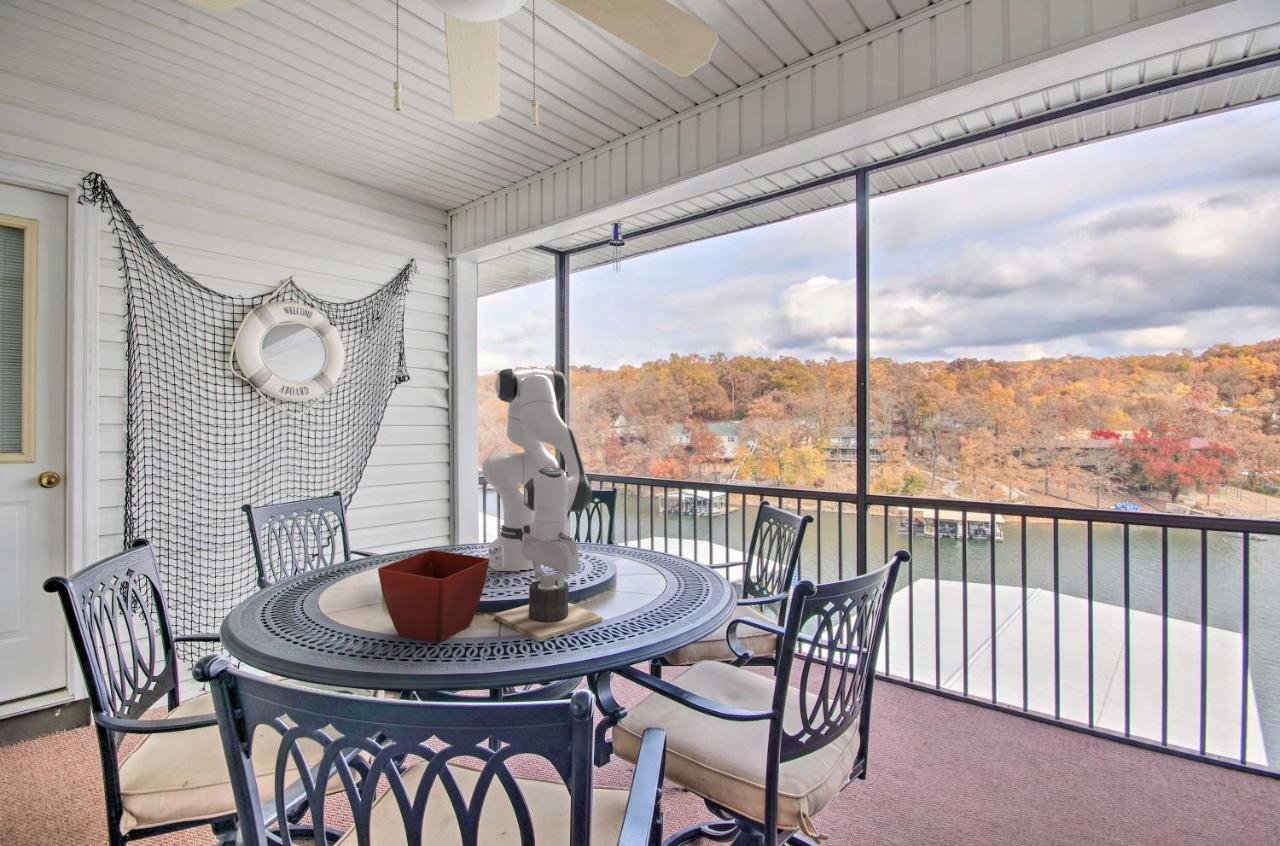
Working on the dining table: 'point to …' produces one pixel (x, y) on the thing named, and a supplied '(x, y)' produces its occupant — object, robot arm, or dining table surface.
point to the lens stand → (547, 614)
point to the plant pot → (433, 593)
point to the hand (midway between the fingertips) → (549, 582)
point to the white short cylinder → (548, 581)
